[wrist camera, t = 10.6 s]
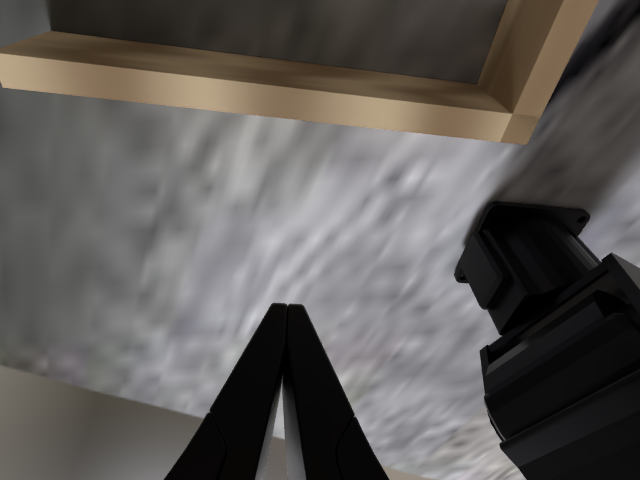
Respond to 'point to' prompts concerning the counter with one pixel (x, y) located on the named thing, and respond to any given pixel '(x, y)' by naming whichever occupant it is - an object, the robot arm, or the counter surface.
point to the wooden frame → (320, 78)
